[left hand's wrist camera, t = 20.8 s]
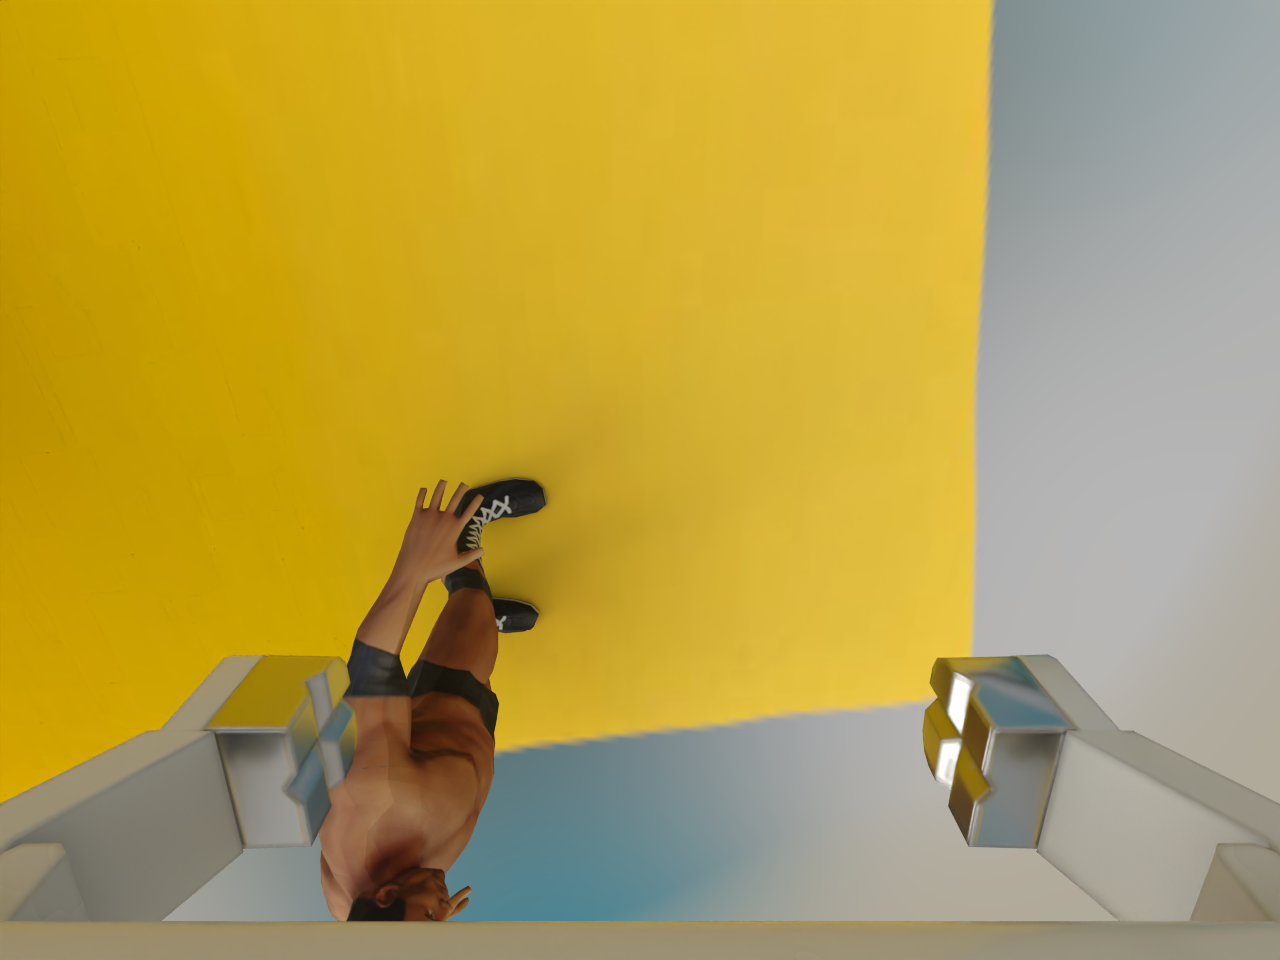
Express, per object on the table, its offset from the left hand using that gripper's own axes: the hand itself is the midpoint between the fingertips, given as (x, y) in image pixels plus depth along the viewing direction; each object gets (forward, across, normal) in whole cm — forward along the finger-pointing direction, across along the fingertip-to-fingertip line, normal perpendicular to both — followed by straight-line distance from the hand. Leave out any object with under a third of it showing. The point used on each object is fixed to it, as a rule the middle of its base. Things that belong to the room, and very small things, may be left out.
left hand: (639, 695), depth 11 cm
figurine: (+38, +10, +17) cm, 43 cm away
